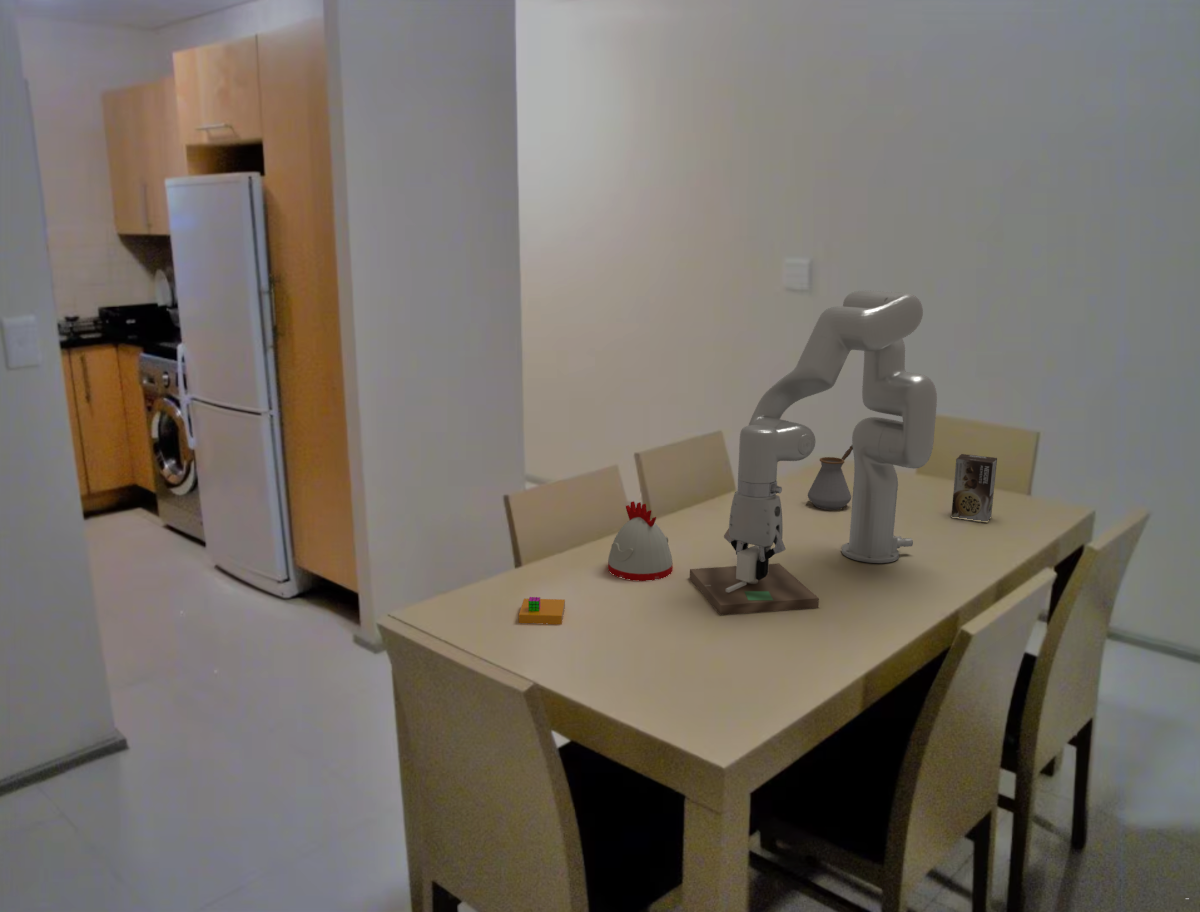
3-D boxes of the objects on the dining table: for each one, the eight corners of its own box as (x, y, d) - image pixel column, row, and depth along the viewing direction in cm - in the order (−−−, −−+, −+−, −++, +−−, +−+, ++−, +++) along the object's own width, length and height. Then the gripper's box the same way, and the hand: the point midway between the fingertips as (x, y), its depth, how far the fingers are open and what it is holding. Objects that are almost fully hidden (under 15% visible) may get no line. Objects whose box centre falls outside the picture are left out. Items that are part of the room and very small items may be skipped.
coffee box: (991, 518, 238) (998, 457, 234) (987, 524, 233) (994, 462, 229) (955, 512, 243) (961, 453, 239) (949, 518, 237) (955, 457, 234)
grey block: (755, 575, 188) (757, 544, 187) (767, 579, 186) (769, 547, 185) (720, 590, 180) (722, 558, 178) (733, 594, 178) (734, 562, 176)
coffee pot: (839, 514, 239) (843, 458, 236) (799, 506, 246) (802, 452, 243) (871, 497, 256) (876, 445, 252) (833, 490, 263) (837, 439, 259)
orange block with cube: (523, 609, 177) (523, 588, 176) (564, 610, 177) (565, 589, 176) (518, 625, 170) (518, 604, 169) (561, 626, 169) (561, 605, 168)
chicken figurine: (638, 554, 208) (640, 490, 204) (685, 570, 198) (687, 503, 195) (594, 569, 198) (595, 502, 195) (641, 586, 188) (642, 516, 185)
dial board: (778, 572, 197) (779, 562, 197) (818, 607, 178) (819, 597, 177) (689, 578, 193) (689, 568, 193) (720, 615, 174) (720, 604, 174)
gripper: (803, 491, 178) (798, 580, 183) (730, 477, 188) (726, 561, 193) (785, 499, 173) (780, 590, 177) (710, 484, 183) (707, 571, 187)
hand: (752, 574), depth 185 cm, fingers closed on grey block, 3 cm apart
